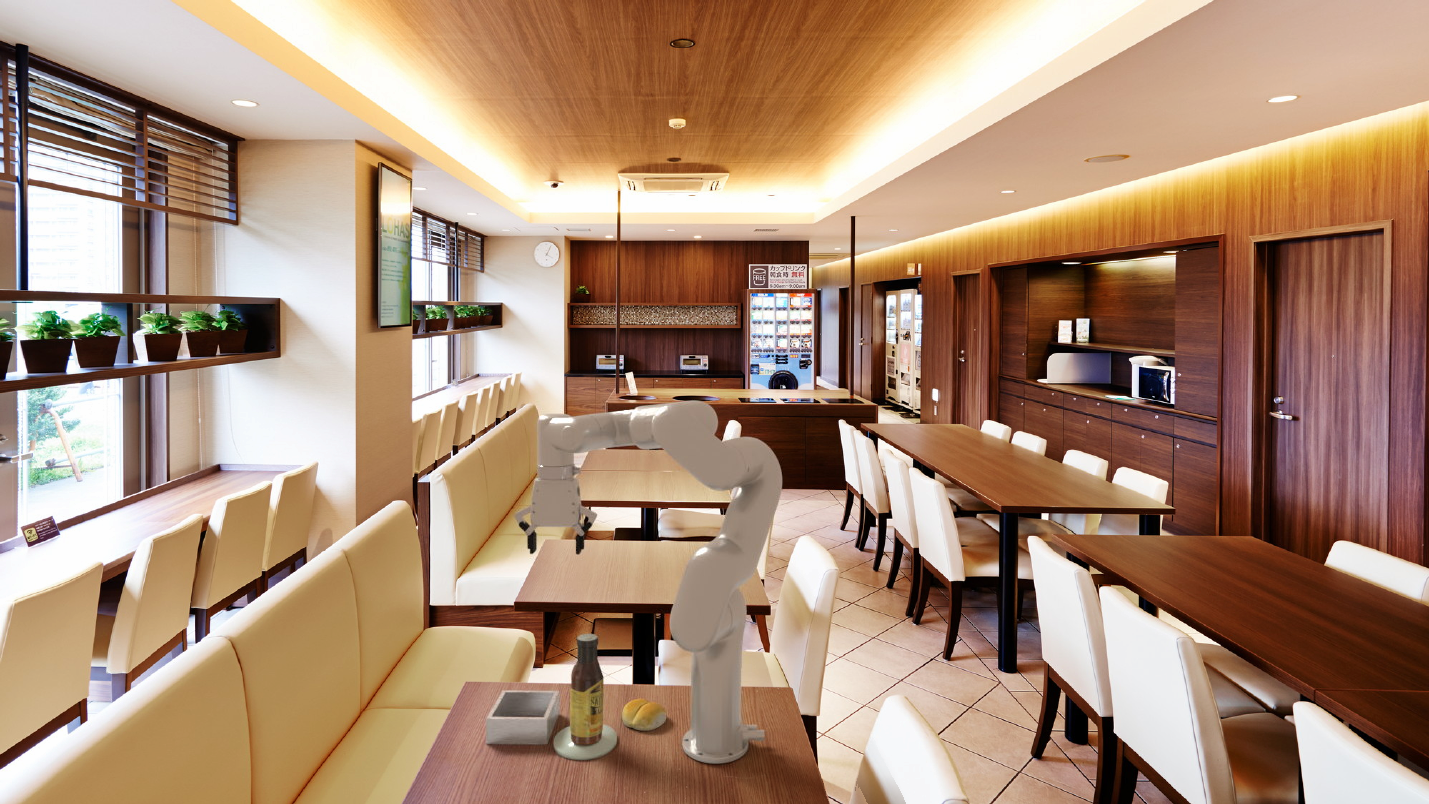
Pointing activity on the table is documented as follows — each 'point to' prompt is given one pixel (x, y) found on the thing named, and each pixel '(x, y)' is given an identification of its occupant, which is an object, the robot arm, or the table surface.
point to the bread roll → (643, 715)
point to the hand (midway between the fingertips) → (556, 552)
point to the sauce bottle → (586, 693)
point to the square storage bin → (522, 727)
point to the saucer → (581, 752)
